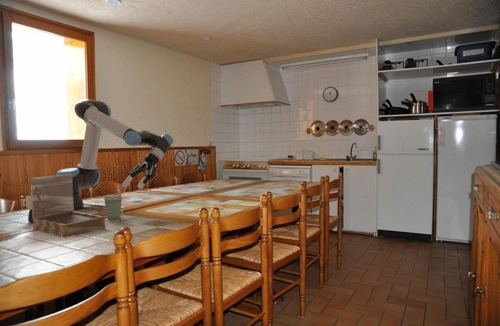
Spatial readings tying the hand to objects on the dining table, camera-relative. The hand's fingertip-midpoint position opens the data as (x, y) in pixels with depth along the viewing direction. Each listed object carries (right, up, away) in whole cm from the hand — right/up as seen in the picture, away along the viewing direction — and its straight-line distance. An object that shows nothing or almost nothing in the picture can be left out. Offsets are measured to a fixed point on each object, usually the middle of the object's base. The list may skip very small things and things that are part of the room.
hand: (131, 187), depth 176 cm
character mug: (-43, -16, -11) cm, 47 cm away
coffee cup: (-6, -16, -7) cm, 18 cm away
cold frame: (-19, -17, -25) cm, 36 cm away
